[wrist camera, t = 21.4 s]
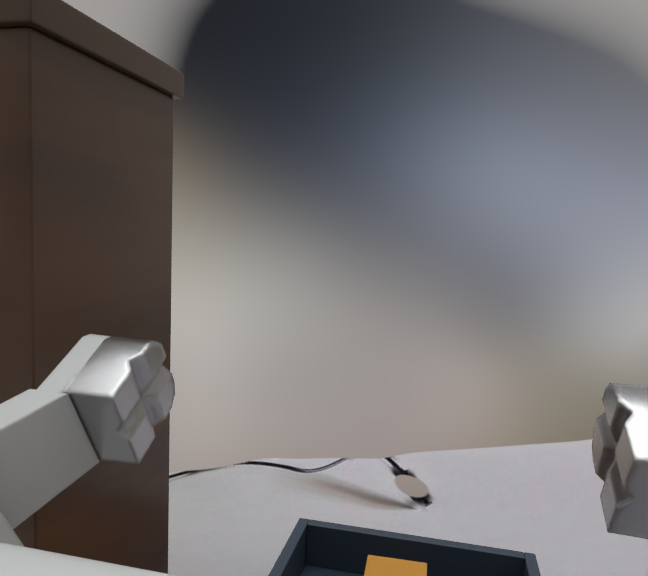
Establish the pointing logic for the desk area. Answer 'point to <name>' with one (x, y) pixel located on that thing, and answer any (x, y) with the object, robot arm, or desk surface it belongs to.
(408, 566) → the bar
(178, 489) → the desk surface
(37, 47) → the stand
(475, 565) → the tray
